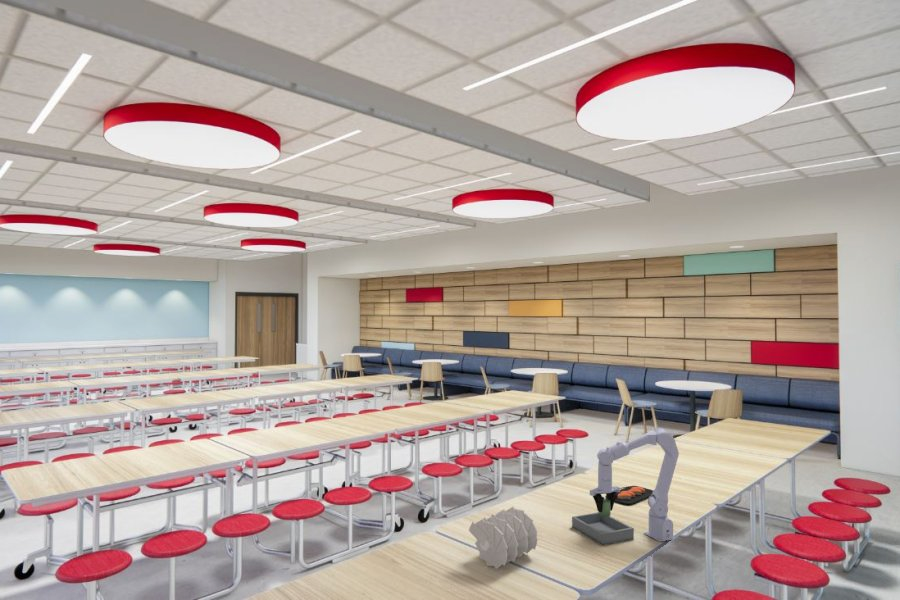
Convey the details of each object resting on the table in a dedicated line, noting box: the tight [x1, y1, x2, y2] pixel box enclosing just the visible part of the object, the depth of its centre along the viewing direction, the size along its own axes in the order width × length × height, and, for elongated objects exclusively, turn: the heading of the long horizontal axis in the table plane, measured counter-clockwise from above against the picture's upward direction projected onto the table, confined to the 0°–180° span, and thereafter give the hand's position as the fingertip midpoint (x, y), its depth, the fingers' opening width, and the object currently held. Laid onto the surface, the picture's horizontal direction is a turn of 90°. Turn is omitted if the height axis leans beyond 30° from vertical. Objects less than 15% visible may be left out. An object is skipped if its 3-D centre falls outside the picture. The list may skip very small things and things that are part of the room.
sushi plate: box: [604, 485, 654, 505], centre depth 279 cm, size 29×30×4 cm
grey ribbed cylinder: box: [468, 506, 539, 570], centre depth 201 cm, size 18×18×25 cm
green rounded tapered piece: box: [598, 497, 611, 517], centre depth 228 cm, size 5×5×6 cm
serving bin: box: [571, 511, 635, 546], centre depth 226 cm, size 20×16×4 cm
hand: (604, 510), depth 227 cm, fingers closed on green rounded tapered piece, 5 cm apart
